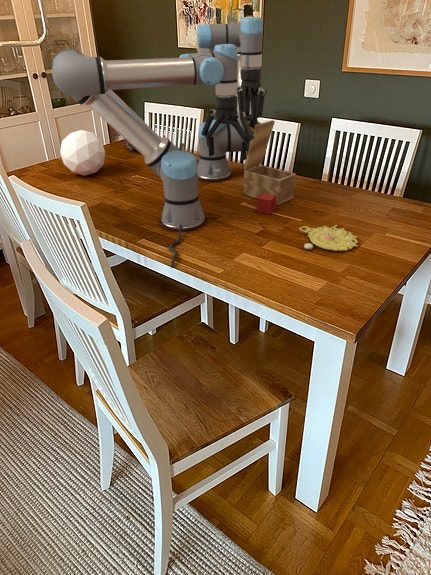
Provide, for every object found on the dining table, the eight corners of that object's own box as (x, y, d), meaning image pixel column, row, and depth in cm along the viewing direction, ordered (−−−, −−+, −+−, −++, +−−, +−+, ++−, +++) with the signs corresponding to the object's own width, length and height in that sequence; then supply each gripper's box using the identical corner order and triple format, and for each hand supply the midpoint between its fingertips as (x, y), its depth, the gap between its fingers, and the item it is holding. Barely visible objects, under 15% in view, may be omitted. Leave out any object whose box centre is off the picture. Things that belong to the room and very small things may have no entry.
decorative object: (343, 255, 128) (285, 234, 139) (342, 262, 130) (284, 241, 140) (372, 230, 142) (317, 213, 152) (371, 237, 143) (316, 219, 153)
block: (275, 209, 164) (276, 195, 161) (270, 214, 160) (270, 200, 157) (262, 206, 166) (262, 193, 163) (256, 211, 162) (256, 198, 159)
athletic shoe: (136, 131, 245) (115, 136, 241) (146, 124, 225) (123, 129, 221) (142, 152, 248) (122, 157, 244) (152, 146, 228) (130, 152, 224)
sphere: (92, 190, 205) (77, 164, 186) (61, 170, 209) (44, 142, 190) (118, 162, 209) (107, 134, 191) (87, 142, 214) (73, 113, 195)
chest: (294, 197, 173) (295, 173, 168) (278, 205, 167) (279, 180, 162) (260, 187, 183) (260, 164, 178) (244, 194, 177) (244, 170, 172)
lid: (274, 121, 165) (259, 111, 168) (257, 126, 159) (241, 115, 162) (261, 164, 177) (247, 154, 181) (245, 170, 172) (230, 159, 175)
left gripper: (264, 95, 149) (262, 158, 160) (201, 91, 159) (203, 151, 171) (254, 99, 143) (253, 164, 155) (190, 95, 154) (193, 156, 166)
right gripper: (274, 68, 155) (271, 137, 167) (242, 65, 164) (242, 131, 176) (260, 70, 150) (258, 141, 163) (228, 67, 159) (229, 134, 172)
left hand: (227, 157), depth 163 cm, fingers open, 13 cm apart
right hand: (250, 135), depth 170 cm, fingers closed on lid, 2 cm apart
